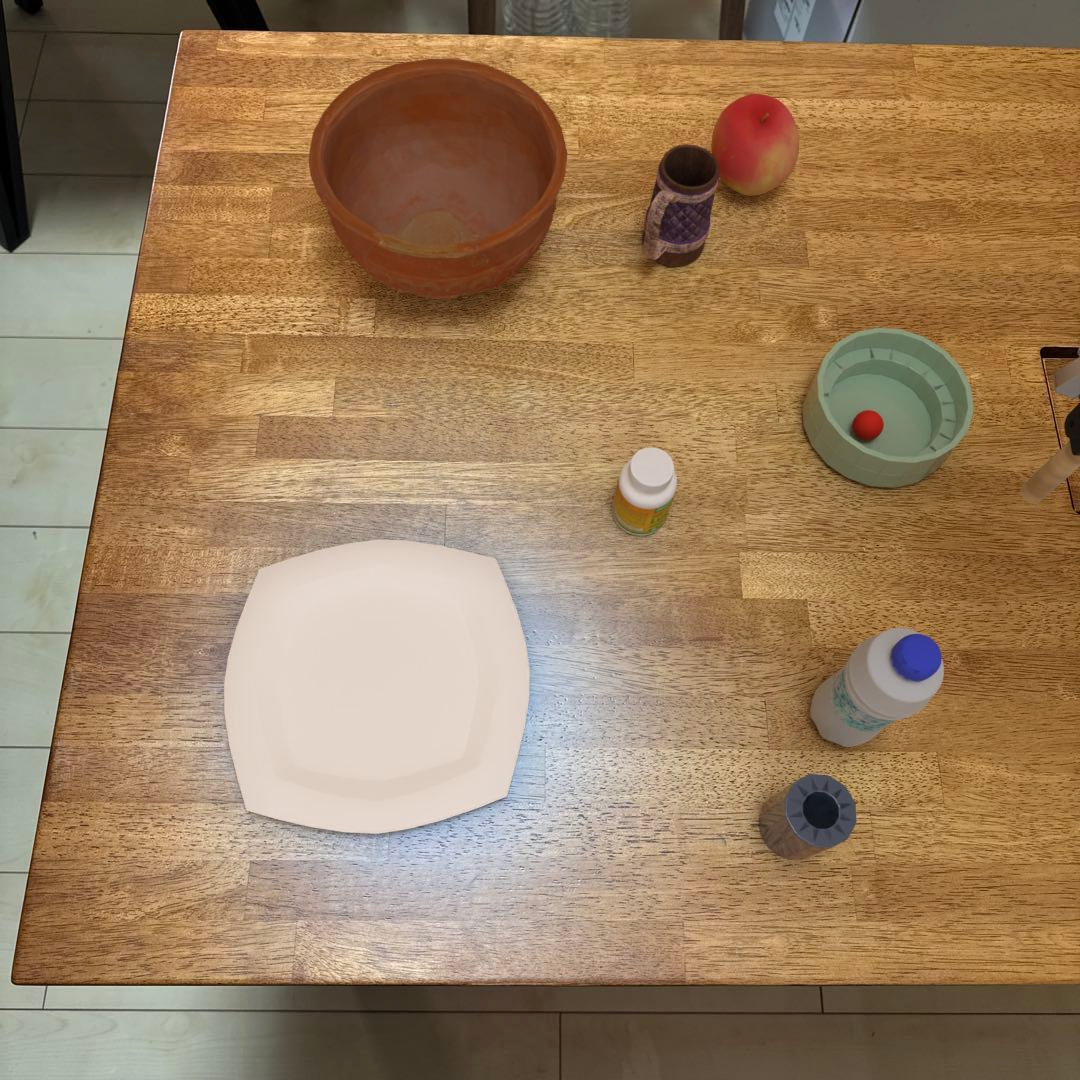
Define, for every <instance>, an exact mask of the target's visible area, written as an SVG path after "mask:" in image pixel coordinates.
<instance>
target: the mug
mask: <svg viewBox="0 0 1080 1080" xmlns="http://www.w3.org/2000/svg"><path fill="white" fill-rule="evenodd" d="M719 179H720V176H719V165H718V162H717V159H716V158H715V157H714V156H713V154H712V152H710V151H709V150H708V149H706V148H705V147H701V146H699V145H696V144H678V145H676V146H674V147H673V146H672V147H670V149H668V150H667V151H666V152H665V153H664V154H663V156H662V158H661V160H660V162H659V164H658V167H657V170H656V179H655V183H654V186H653V191H652V195H651V198H650V201H649V205H648V207H647V209H646V213H645V216H644V220H643V231H642V237H641V242H642V254H644V256H645V257H646V258H647V259H649V260H653V261H655V262H657V263H659V264H662V265H665V266H669V267H681V266H686V265H690V264H691V263H694V262H695V261H696V260H697V259H699V257H700V256H701V255H702V254H703V253H702V252H703V251H704V248H705V243H706V240H707V239H708V236H709V232H710V228H711V216H712V215H711V214H712V209H713V205H714V201H715V196H716V191H717V188H718V185H719Z"/></svg>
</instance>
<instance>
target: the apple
mask: <svg viewBox="0 0 1080 1080" xmlns="http://www.w3.org/2000/svg"><path fill="white" fill-rule="evenodd" d="M799 135H800V134H799V131H798V125H797V123H796V121H795V118H794V116H793V114H792V112H791V111H790V109H789V108H788V107H787V106H786V104H784V103H783V102H782V101H781V100H779V99H778V98H775V97H773V96H770V95H767V94H761V93H751V94H747V95H744V96H741V97H739V98H736V99H735V100H733V101H732V102H730V103H729V104H728V105H727V106H726V107H725V108H724V109H723V110H722V112H721V113H720V114H719V116H718V118H717V119H716V123H715V124H714V128H713V131H712V136H711V145H710V146H711V147H710V148H711V149H710V150H711V153H712V154H713V156H714V157H715V158H716V159H717V162H718V165H719V179H721V180H722V182H723V183H724V184H725V185H726V186H727V187H728V188H730V189H731V190H733V191H734V192H737V193H739V194H740V195H744V196H751V197H752V196H753V197H756V196H760V195H763V194H766V193H768V192H770V191H772V190H775V188H777V187H778V186H780V185H781V184H783V183H785V181H786V180H787V179H789V177H790V176H791V175H792V173H793V172H794V170H795V167H796V165H797V163H798V162H797V161H798V158H799V153H800V136H799Z"/></svg>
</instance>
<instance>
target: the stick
mask: <svg viewBox="0 0 1080 1080" xmlns="http://www.w3.org/2000/svg"><path fill="white" fill-rule="evenodd" d="M1079 468H1080V456H1077V455H1073V454H1072V451H1071V445H1070V440H1068V441H1067V442H1066V443H1065V444H1064V445H1063V446H1062V447H1061V448H1060V449H1059V450H1058V451H1057V452H1056V453H1054V454H1053V455H1052V456H1051V458H1049V459H1048V461H1046V462H1045V463H1044V464H1043V465H1042V466H1041V467H1040V468H1039V469H1037V470H1036V471H1035V473H1033V474H1032V476H1031V477H1030V478H1028V479H1027V480H1026V481H1025V482H1024V483H1023V484H1022V485H1021V487H1020V490H1019V493H1020V496H1021V498H1022V499H1023V500H1024V501H1026V502H1027V503H1029V504H1039V503H1041V502H1042V501H1043V500H1044V499H1045V498H1046V497H1048V495H1050V493H1052V492H1053V491H1054V490H1055V489H1057V488H1058V487H1059V486H1060V485H1061V484H1062V483H1063V482H1064V481H1066V479H1068V478H1069V477H1070V476H1071V475H1072V474H1073V473H1074V472H1076V470H1078V469H1079Z"/></svg>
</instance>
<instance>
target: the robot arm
mask: <svg viewBox="0 0 1080 1080" xmlns="http://www.w3.org/2000/svg"><path fill="white" fill-rule="evenodd" d="M1077 355H1078V356H1079V357H1077V358H1075V359H1073V360H1072V361H1070V362H1069V363H1067V364H1065V365H1063V366H1062V367H1060V368H1058V369H1056V370H1055V371H1053V372H1052V374H1051V378H1052V383H1053V390H1054V393H1056V394H1058V395H1061V396H1064V397H1068V398H1070V399H1075V398H1076V399H1079V400H1080V347H1079V348H1078V350H1077ZM1063 429H1064V435H1065V437H1066V438H1068V439H1069V440H1068V441H1070V445H1071V451H1072V454H1073V455H1077V456H1080V402H1079V403H1078V404H1077V405H1076V406H1074V407H1073V409H1072V410H1071V411H1070V412H1069V413H1068V414H1067V415H1066V417H1065V420H1064V423H1063Z"/></svg>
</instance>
